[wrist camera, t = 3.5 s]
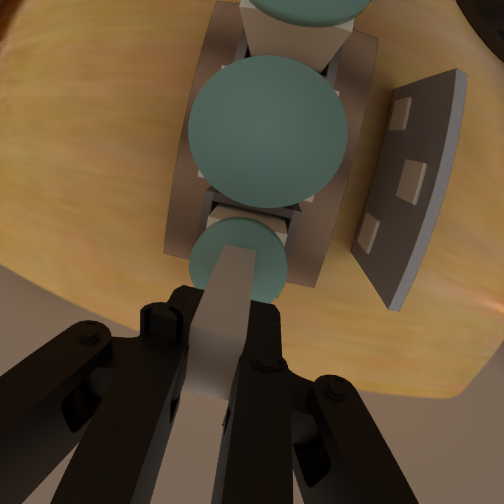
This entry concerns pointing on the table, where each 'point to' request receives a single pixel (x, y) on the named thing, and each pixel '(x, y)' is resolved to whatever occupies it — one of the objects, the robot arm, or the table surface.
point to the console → (296, 216)
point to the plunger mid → (267, 131)
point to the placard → (409, 182)
